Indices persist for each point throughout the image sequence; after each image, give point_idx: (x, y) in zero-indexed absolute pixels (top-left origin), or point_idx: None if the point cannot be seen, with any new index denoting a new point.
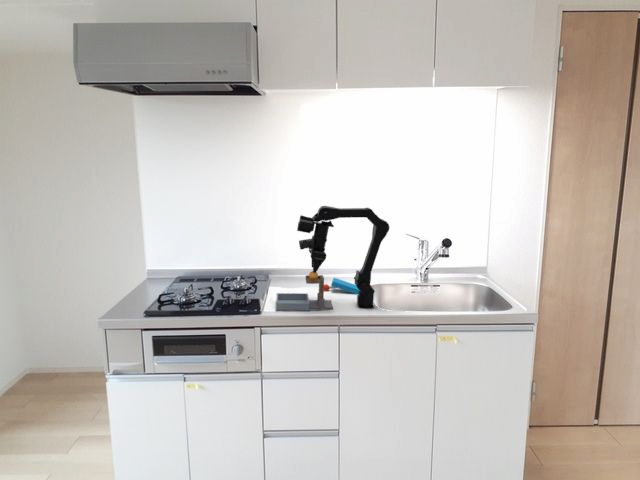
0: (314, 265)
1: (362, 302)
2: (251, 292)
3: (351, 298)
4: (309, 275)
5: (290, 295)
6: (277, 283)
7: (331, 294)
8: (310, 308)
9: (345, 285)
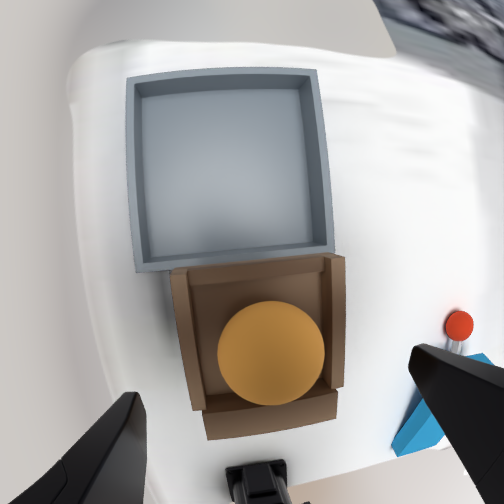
0: (67, 473)
1: (238, 488)
2: (392, 9)
3: (351, 433)
4: (244, 314)
5: (315, 147)
6: (500, 123)
7: (407, 353)
8: (170, 271)
9: (428, 418)
